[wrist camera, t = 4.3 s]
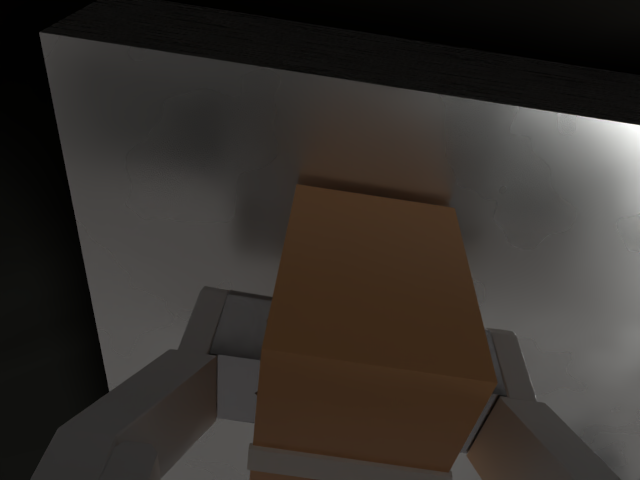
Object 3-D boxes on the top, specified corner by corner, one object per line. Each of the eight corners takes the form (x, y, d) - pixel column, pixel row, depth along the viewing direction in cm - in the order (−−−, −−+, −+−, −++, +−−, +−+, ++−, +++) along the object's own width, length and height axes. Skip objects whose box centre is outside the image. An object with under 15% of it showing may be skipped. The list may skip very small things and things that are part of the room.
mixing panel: (111, -8, 11) (37, 33, 8) (1112, 149, 11) (1318, 231, 9) (163, 475, 23) (139, 549, 20) (645, 542, 23) (677, 623, 21)
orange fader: (293, 183, 10) (256, 352, 6) (457, 208, 10) (502, 388, 6) (273, 357, 13) (241, 532, 9) (398, 375, 13) (409, 554, 9)
